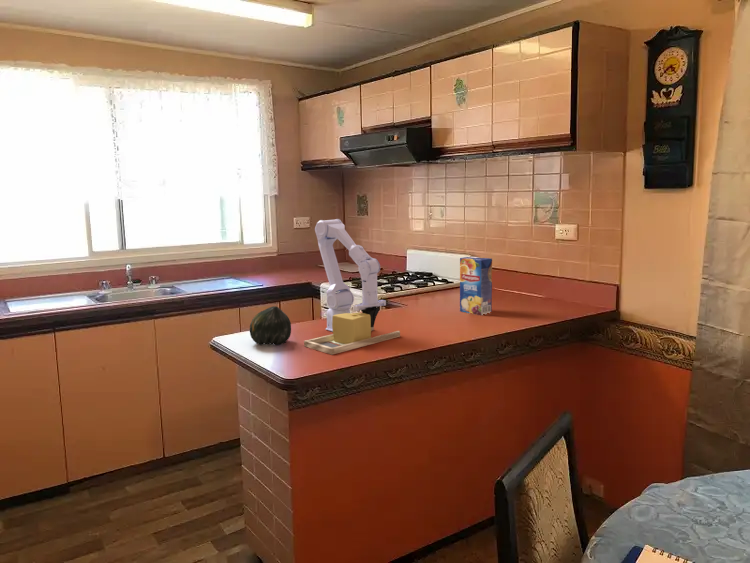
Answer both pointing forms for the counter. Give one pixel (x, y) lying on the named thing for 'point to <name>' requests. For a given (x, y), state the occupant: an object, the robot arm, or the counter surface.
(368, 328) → the cheese
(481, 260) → the juice carton
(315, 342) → the lane rails
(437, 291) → the counter surface
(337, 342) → the pad
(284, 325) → the squash
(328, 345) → the pad
